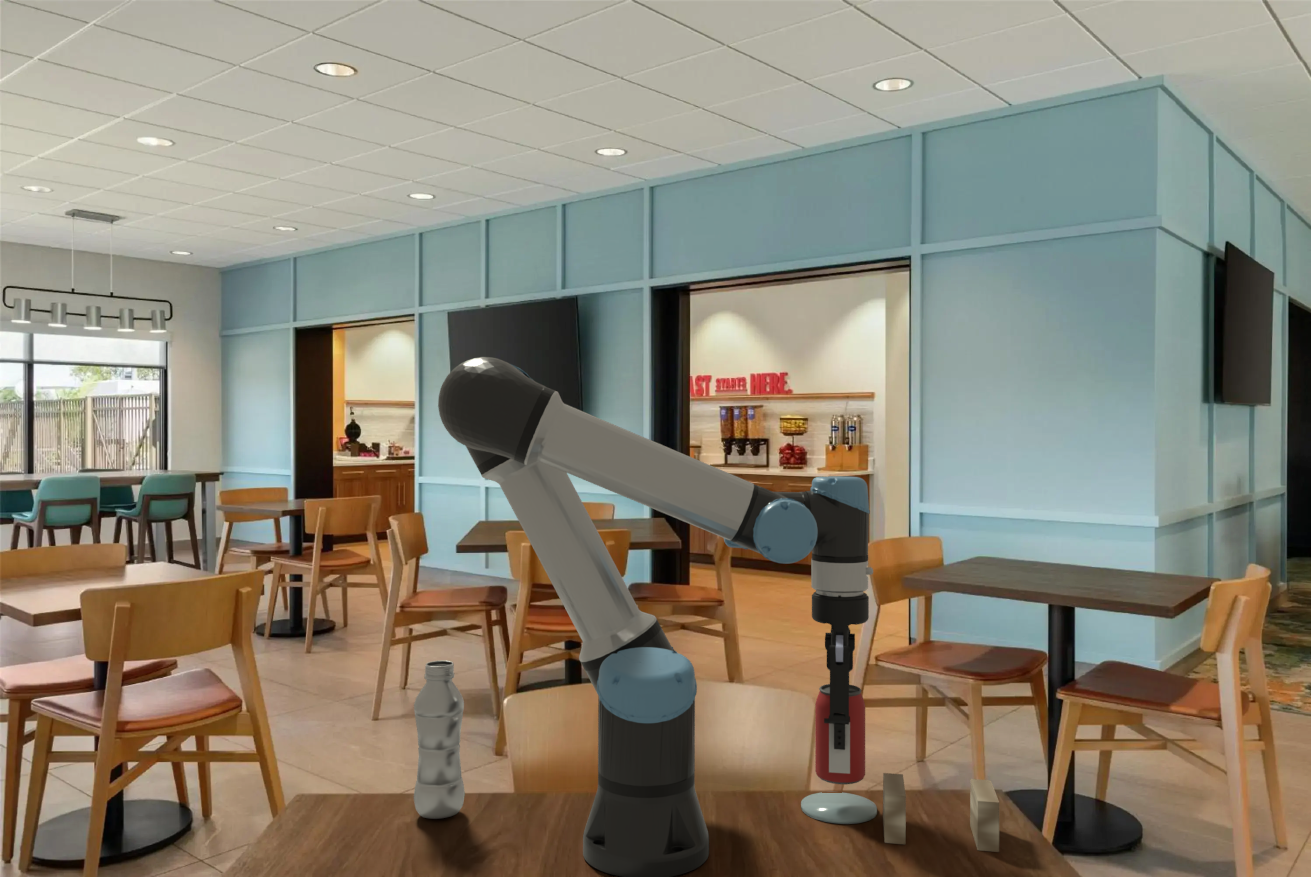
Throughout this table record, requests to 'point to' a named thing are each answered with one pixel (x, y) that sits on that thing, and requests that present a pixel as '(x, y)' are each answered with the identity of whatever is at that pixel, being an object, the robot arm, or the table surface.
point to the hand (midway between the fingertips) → (839, 762)
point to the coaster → (839, 808)
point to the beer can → (855, 737)
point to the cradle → (981, 812)
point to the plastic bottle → (439, 743)
